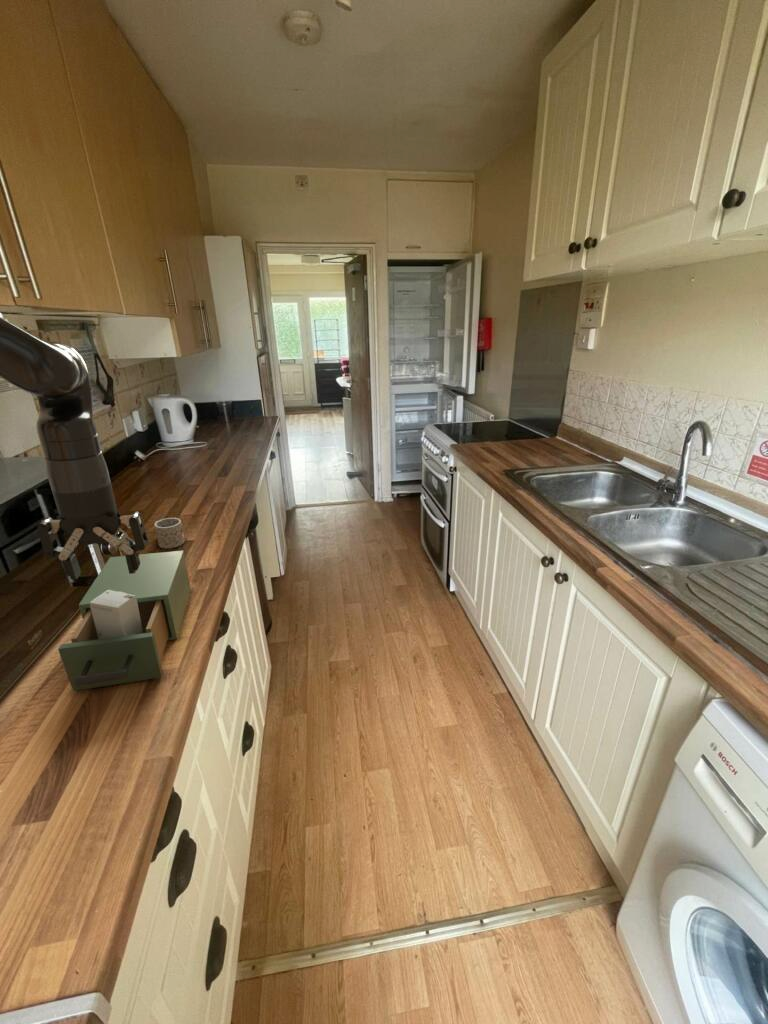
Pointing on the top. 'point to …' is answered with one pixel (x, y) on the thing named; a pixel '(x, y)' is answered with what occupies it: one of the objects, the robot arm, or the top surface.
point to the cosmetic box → (116, 614)
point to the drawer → (117, 651)
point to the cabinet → (147, 584)
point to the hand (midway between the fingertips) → (105, 574)
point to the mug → (169, 532)
